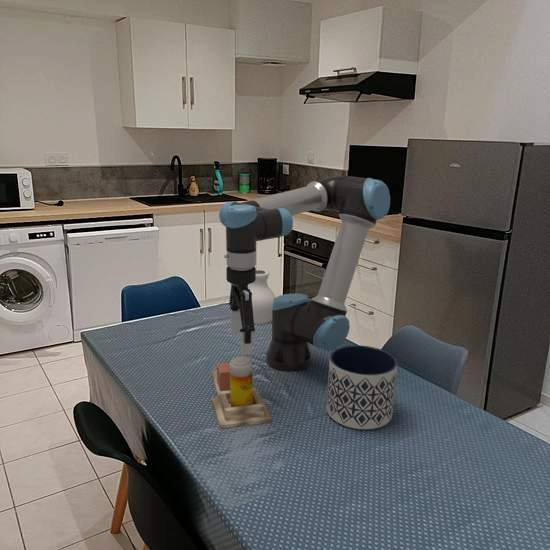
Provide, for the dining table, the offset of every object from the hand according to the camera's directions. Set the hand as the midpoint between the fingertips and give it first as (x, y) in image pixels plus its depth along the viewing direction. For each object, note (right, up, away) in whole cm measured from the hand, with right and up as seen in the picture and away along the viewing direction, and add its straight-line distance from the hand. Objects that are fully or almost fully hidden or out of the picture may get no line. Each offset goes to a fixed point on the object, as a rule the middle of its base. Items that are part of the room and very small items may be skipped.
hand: (241, 343), depth 139 cm
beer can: (0, -19, +5) cm, 20 cm away
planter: (+32, -21, +7) cm, 39 cm away
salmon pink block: (-4, -15, +18) cm, 24 cm away
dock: (-3, -17, +14) cm, 22 cm away
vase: (+2, 0, +72) cm, 72 cm away
